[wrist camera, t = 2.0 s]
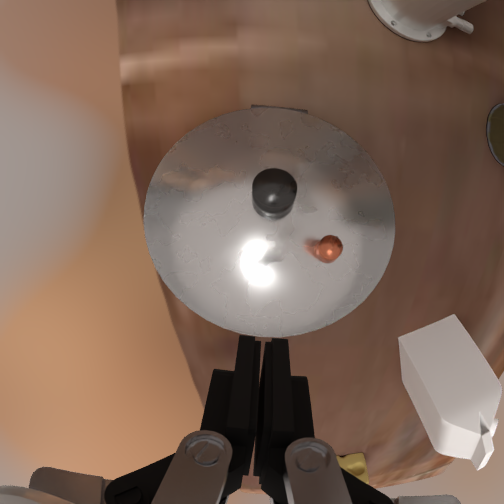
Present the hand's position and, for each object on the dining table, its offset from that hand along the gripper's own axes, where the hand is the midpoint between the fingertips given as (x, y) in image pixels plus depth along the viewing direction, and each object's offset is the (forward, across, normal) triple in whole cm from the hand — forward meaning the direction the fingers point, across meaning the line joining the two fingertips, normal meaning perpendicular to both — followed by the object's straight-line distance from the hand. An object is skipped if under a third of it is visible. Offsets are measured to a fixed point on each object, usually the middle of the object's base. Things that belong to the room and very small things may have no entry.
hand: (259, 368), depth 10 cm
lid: (+14, 0, -3) cm, 15 cm away
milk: (+31, -32, +23) cm, 51 cm away
